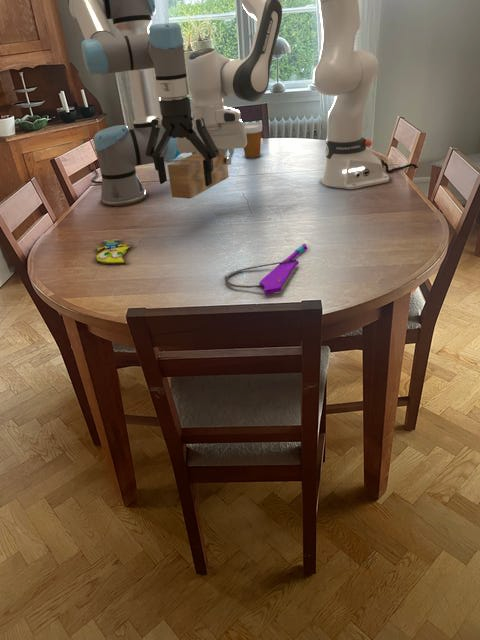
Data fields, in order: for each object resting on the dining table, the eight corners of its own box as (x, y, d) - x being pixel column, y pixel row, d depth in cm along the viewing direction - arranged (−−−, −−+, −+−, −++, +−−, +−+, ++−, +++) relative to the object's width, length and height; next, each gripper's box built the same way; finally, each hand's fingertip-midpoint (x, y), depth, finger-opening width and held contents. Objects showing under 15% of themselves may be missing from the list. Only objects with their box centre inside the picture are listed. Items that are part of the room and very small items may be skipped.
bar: (211, 176, 147) (209, 147, 143) (228, 177, 145) (226, 147, 140) (171, 197, 130) (167, 164, 125) (190, 198, 127) (186, 165, 123)
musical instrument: (224, 303, 104) (316, 286, 101) (222, 294, 103) (315, 277, 100) (230, 261, 125) (306, 246, 122) (228, 253, 124) (305, 239, 121)
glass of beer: (264, 157, 198) (262, 127, 191) (241, 159, 198) (238, 129, 192) (263, 152, 206) (261, 122, 199) (241, 153, 206) (239, 124, 200)
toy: (135, 237, 135) (125, 260, 122) (135, 240, 135) (125, 263, 123) (99, 239, 135) (85, 263, 122) (100, 242, 135) (86, 266, 123)
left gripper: (122, 101, 118) (138, 185, 130) (214, 99, 110) (223, 190, 122) (138, 95, 124) (152, 177, 136) (226, 93, 116) (234, 180, 127)
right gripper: (170, 121, 132) (178, 171, 140) (244, 114, 131) (248, 165, 138) (173, 117, 138) (181, 165, 145) (244, 110, 136) (248, 159, 144)
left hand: (185, 183), depth 129 cm, fingers open, 13 cm apart
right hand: (214, 165), depth 142 cm, fingers closed on bar, 7 cm apart
